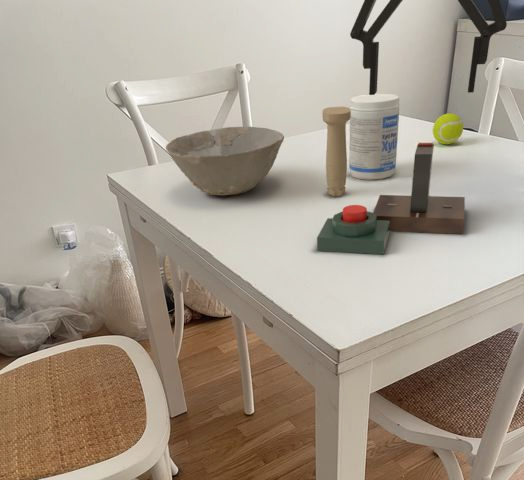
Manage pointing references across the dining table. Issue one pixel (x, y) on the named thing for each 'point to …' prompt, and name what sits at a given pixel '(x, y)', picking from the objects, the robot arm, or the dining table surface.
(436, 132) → the tennis ball
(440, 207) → the panel
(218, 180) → the ceramic bowl
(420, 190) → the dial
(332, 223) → the button box
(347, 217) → the button
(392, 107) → the supplement tub
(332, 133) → the handle
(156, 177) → the dining table surface
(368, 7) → the robot arm
